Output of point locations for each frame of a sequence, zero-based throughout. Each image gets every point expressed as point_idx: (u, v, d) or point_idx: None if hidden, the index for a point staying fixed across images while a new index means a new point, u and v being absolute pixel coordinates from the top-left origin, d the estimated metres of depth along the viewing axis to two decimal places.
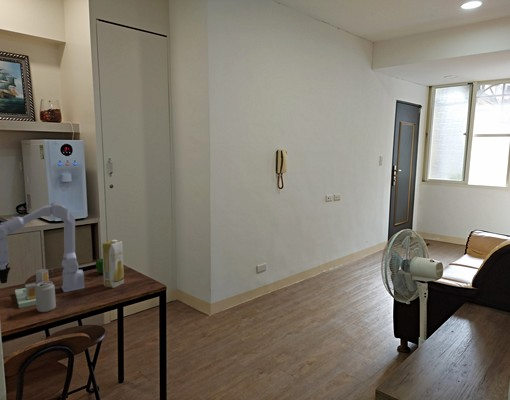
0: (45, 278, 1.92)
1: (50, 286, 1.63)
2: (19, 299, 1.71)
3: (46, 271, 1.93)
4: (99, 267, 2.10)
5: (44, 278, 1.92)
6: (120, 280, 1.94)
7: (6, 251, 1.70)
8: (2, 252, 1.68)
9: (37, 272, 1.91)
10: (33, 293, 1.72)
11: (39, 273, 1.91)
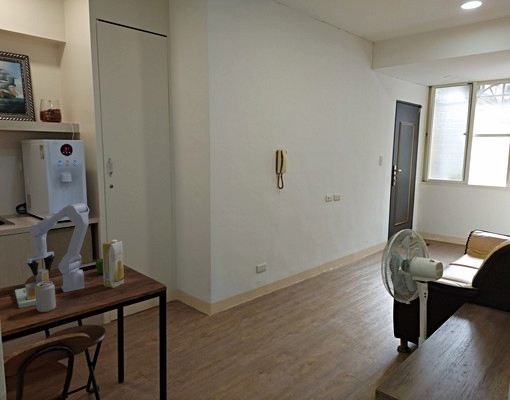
0: (45, 278, 1.92)
1: (50, 286, 1.63)
2: (19, 299, 1.71)
3: (46, 271, 1.93)
4: (99, 267, 2.10)
5: (44, 278, 1.92)
6: (120, 280, 1.94)
7: (40, 248, 1.88)
8: (36, 248, 1.88)
9: None
10: (33, 293, 1.72)
11: (39, 273, 1.91)
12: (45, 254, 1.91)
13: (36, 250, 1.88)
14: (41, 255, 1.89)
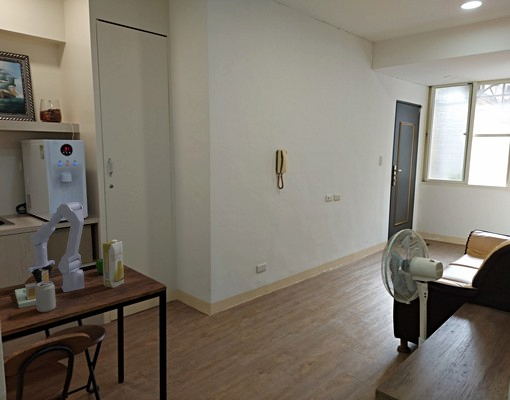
0: (45, 278, 1.92)
1: (50, 286, 1.63)
2: (19, 299, 1.71)
3: (46, 271, 1.93)
4: (99, 267, 2.10)
5: (44, 277, 1.92)
6: (120, 280, 1.94)
7: (40, 257, 1.89)
8: (36, 257, 1.89)
9: None
10: (33, 293, 1.72)
11: None
12: (46, 263, 1.91)
13: (37, 259, 1.89)
14: (42, 264, 1.90)
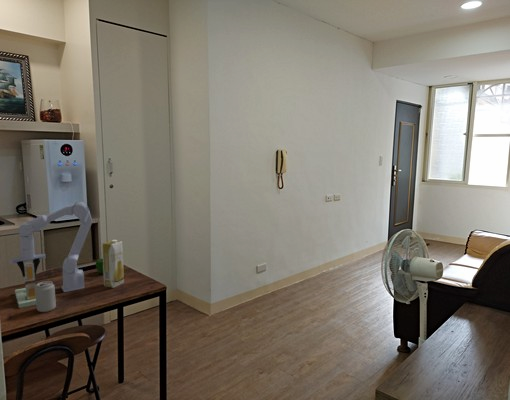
0: (29, 273, 1.80)
1: (50, 286, 1.63)
2: (19, 299, 1.71)
3: (31, 265, 1.80)
4: (99, 267, 2.10)
5: (28, 272, 1.79)
6: (120, 280, 1.94)
7: (23, 249, 1.77)
8: (20, 248, 1.77)
9: None
10: (33, 293, 1.72)
11: None
12: (29, 256, 1.78)
13: (21, 251, 1.78)
14: (24, 257, 1.77)
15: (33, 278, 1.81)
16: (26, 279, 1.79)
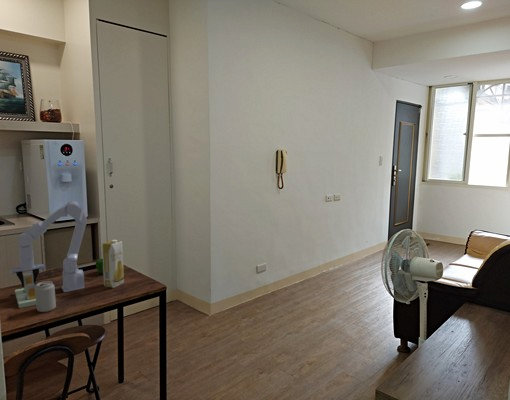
0: (28, 283, 1.79)
1: (50, 286, 1.63)
2: (19, 299, 1.71)
3: (30, 276, 1.79)
4: (99, 267, 2.10)
5: (27, 282, 1.79)
6: (120, 280, 1.94)
7: (22, 259, 1.76)
8: None
9: None
10: (33, 293, 1.72)
11: (23, 276, 1.79)
12: (28, 267, 1.78)
13: (20, 261, 1.77)
14: (23, 267, 1.77)
15: None
16: (25, 289, 1.79)
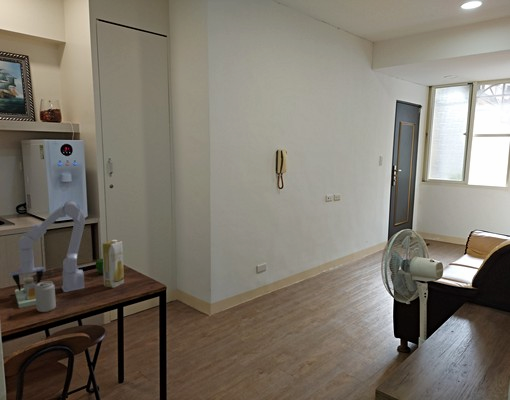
0: None
1: (50, 286, 1.63)
2: (19, 299, 1.71)
3: (31, 280, 1.80)
4: (99, 267, 2.10)
5: None
6: (120, 280, 1.94)
7: (22, 262, 1.76)
8: (20, 261, 1.77)
9: (23, 280, 1.80)
10: (33, 293, 1.72)
11: (23, 281, 1.79)
12: (29, 269, 1.78)
13: (20, 264, 1.77)
14: (24, 270, 1.77)
15: None
16: None
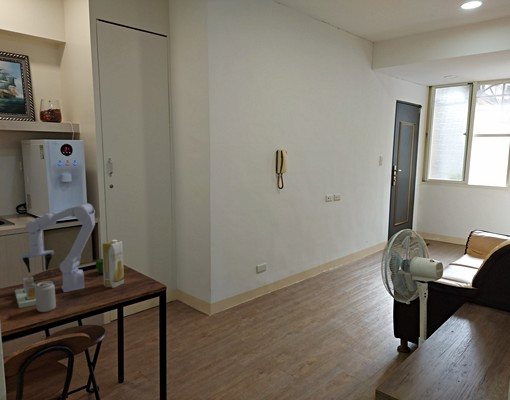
0: None
1: (50, 286, 1.63)
2: (19, 299, 1.71)
3: (31, 280, 1.80)
4: (99, 267, 2.09)
5: None
6: (120, 280, 1.94)
7: (32, 245, 1.83)
8: None
9: (23, 280, 1.80)
10: (33, 293, 1.72)
11: (23, 281, 1.79)
12: (38, 252, 1.84)
13: (30, 247, 1.84)
14: (33, 252, 1.84)
15: None
16: None
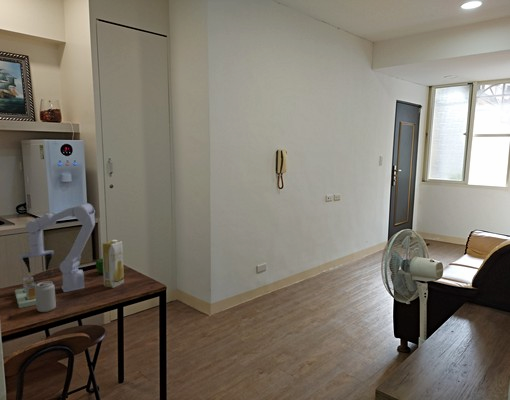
0: None
1: (50, 286, 1.63)
2: (19, 299, 1.71)
3: (31, 280, 1.80)
4: (99, 267, 2.10)
5: None
6: (120, 280, 1.94)
7: (32, 245, 1.83)
8: None
9: (23, 280, 1.80)
10: (33, 293, 1.72)
11: (23, 281, 1.79)
12: (38, 252, 1.85)
13: (30, 247, 1.84)
14: (33, 252, 1.84)
15: None
16: None
